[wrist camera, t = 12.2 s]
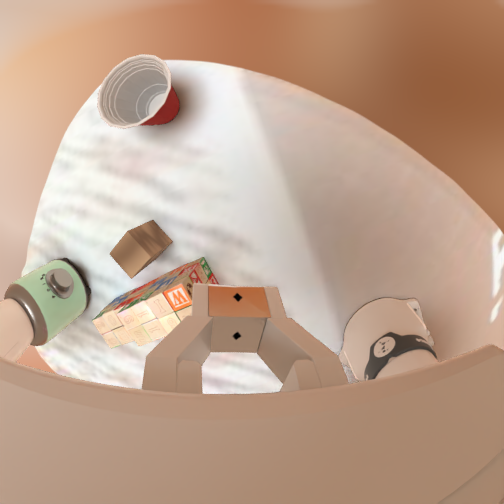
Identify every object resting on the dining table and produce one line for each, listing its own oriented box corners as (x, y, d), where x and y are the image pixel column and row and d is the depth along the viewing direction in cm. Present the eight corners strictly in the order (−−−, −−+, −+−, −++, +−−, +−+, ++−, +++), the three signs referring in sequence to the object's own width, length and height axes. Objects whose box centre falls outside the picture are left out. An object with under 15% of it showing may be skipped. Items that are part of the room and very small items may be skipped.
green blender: (67, 237, 46) (-72, 307, 13) (106, 287, 49) (-19, 397, 15) (38, 288, 51) (-62, 358, 17) (71, 330, 53) (-19, 420, 19)
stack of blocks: (131, 324, 51) (102, 358, 39) (115, 297, 49) (81, 328, 37) (221, 287, 47) (205, 324, 35) (204, 255, 45) (181, 283, 33)
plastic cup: (208, 90, 37) (186, 64, 26) (174, 148, 40) (141, 141, 29) (155, 70, 37) (122, 44, 25) (125, 124, 40) (84, 114, 28)
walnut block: (172, 241, 45) (150, 257, 36) (154, 259, 46) (131, 278, 37) (152, 219, 44) (127, 231, 35) (135, 239, 45) (109, 253, 37)
